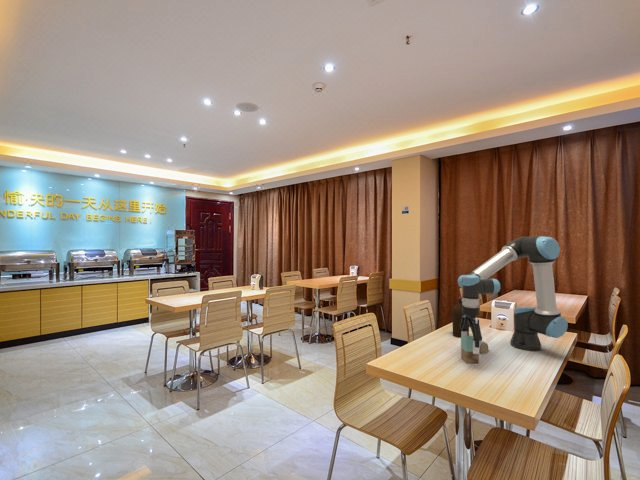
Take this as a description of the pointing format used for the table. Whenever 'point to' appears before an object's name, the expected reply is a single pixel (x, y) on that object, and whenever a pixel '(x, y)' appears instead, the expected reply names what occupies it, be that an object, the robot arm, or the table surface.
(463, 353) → the walnut block
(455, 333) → the olive oil
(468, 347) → the teal block
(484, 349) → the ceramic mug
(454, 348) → the table surface
